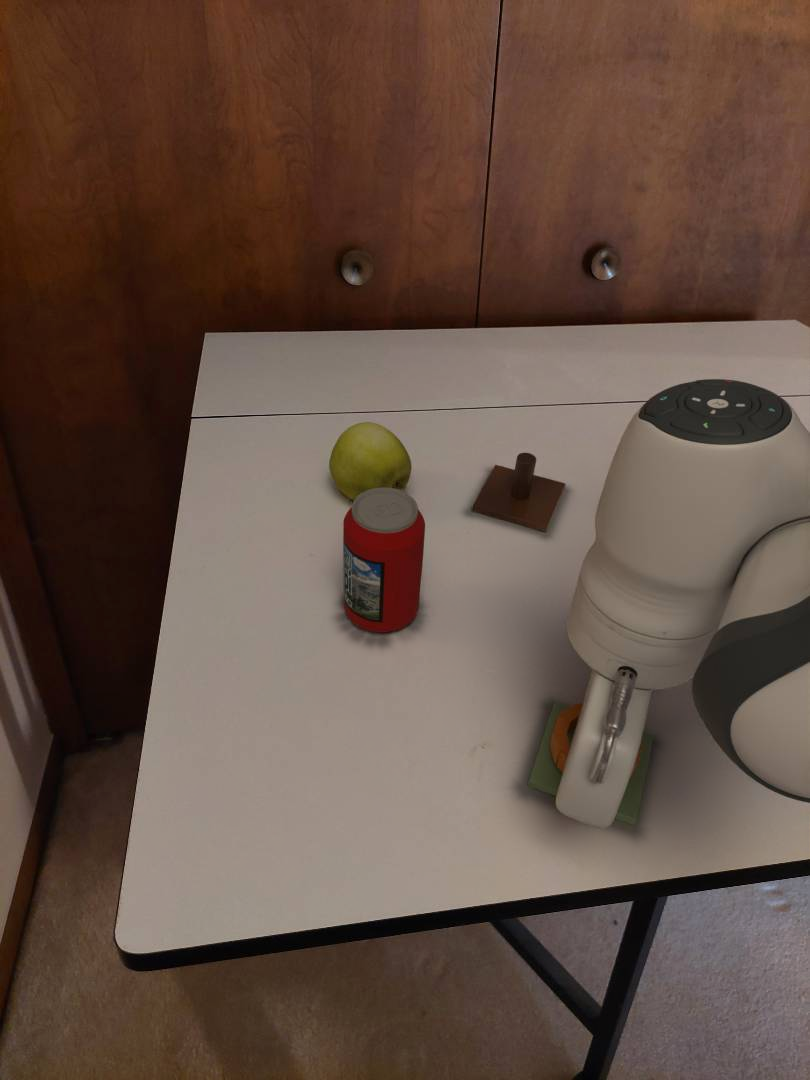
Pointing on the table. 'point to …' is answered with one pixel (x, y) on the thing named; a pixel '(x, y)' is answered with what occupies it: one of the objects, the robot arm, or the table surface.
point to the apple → (369, 460)
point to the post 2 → (550, 775)
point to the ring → (560, 739)
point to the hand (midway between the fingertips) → (595, 744)
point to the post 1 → (520, 495)
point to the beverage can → (382, 559)
